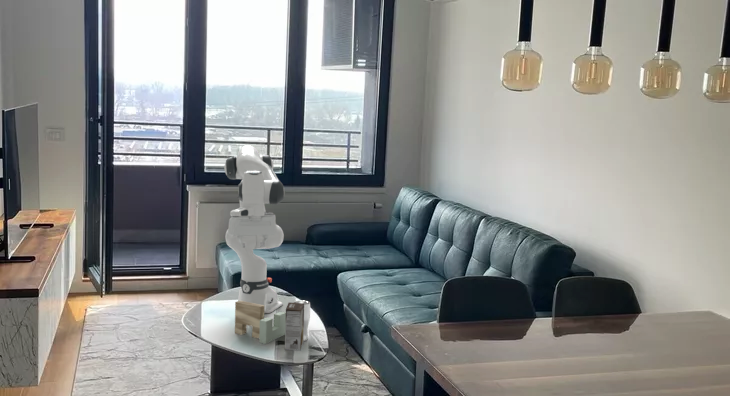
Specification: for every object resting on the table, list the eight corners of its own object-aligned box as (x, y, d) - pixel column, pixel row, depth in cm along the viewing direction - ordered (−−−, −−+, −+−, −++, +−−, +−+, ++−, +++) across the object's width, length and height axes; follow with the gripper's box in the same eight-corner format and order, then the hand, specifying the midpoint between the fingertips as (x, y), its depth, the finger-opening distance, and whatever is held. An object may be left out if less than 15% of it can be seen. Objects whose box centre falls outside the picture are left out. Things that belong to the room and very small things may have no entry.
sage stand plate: (279, 332, 283) (279, 311, 281) (285, 334, 281) (286, 312, 280) (259, 342, 270) (259, 320, 269) (265, 343, 269) (266, 321, 268)
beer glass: (306, 343, 272) (307, 306, 270) (289, 341, 273) (290, 304, 271) (311, 337, 278) (312, 301, 276) (295, 335, 280) (295, 299, 278)
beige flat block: (239, 331, 282) (239, 300, 281) (263, 336, 277) (264, 305, 275) (234, 333, 280) (235, 302, 278) (259, 338, 274) (259, 307, 273)
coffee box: (287, 341, 272) (288, 302, 270) (303, 342, 272) (304, 302, 270) (284, 349, 263) (285, 308, 261) (300, 350, 263) (302, 309, 261)
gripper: (270, 211, 280) (270, 246, 280) (226, 211, 266) (225, 247, 266) (279, 211, 275) (279, 246, 275) (234, 211, 262) (234, 248, 261)
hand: (252, 247), depth 270 cm, fingers open, 8 cm apart
